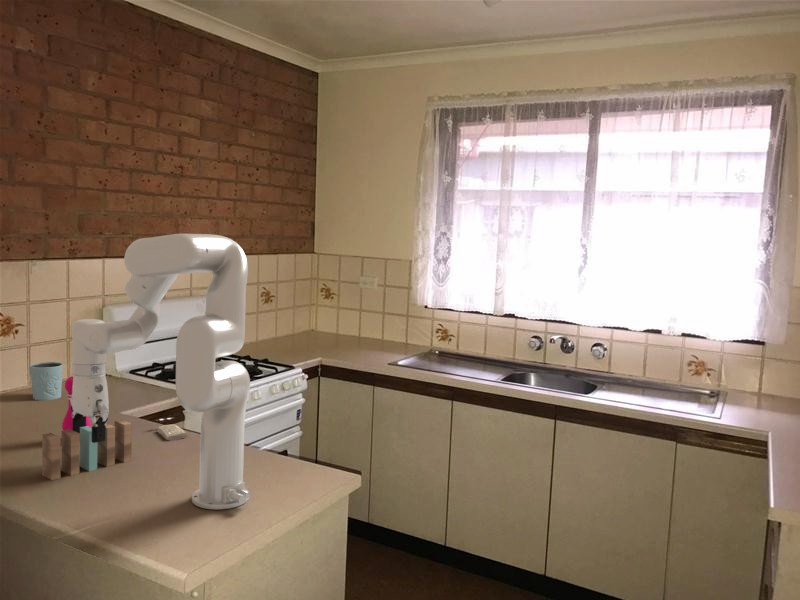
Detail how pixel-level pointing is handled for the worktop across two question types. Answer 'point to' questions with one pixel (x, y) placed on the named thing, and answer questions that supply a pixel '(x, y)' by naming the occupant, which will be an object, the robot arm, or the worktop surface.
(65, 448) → the domino
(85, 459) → the domino
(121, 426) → the domino
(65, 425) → the pepper mill
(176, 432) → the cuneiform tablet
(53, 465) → the domino
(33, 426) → the worktop surface
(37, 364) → the light blue cup
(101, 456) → the domino
